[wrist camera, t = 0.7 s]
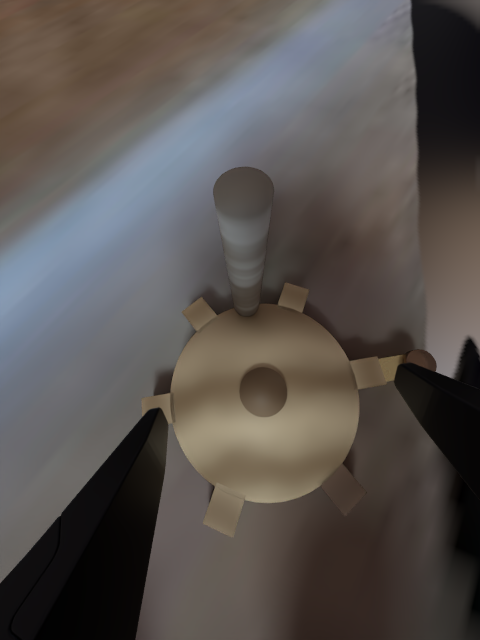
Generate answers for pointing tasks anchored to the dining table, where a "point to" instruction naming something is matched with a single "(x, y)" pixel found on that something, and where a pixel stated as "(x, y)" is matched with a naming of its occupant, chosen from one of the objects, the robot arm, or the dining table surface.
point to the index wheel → (263, 379)
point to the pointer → (412, 356)
